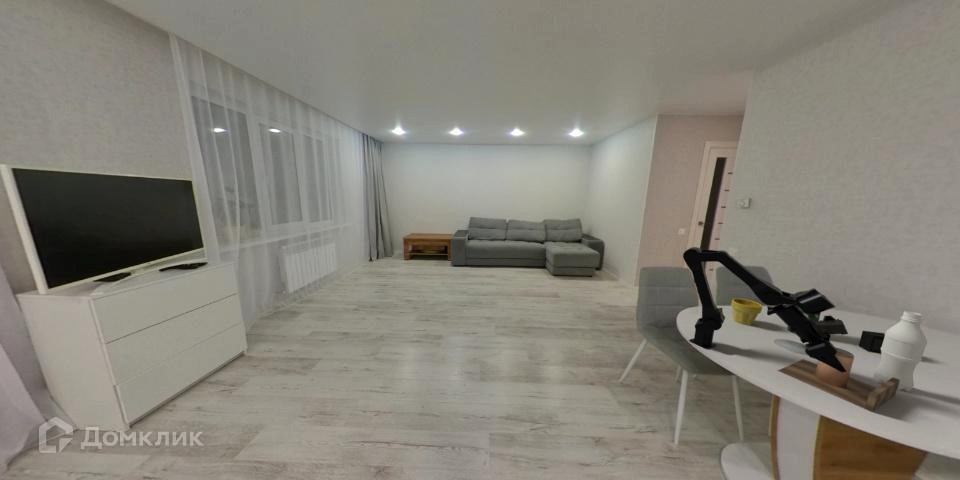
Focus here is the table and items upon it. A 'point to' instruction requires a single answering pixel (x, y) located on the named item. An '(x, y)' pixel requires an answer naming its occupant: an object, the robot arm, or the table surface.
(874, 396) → the wooden bookend
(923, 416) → the table surface
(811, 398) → the table surface
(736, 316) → the plant pot
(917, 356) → the water bottle
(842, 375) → the terracotta pot
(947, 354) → the table surface
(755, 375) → the table surface
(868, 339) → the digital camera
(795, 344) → the ceramic saucer
